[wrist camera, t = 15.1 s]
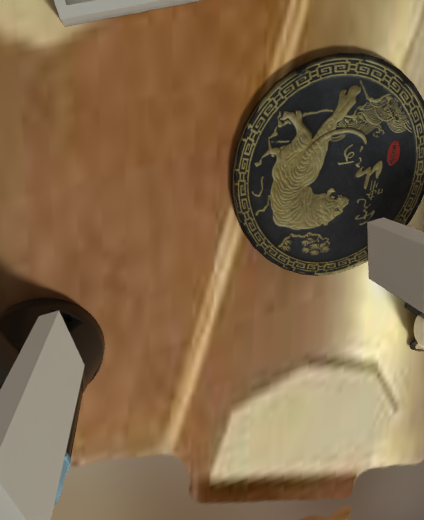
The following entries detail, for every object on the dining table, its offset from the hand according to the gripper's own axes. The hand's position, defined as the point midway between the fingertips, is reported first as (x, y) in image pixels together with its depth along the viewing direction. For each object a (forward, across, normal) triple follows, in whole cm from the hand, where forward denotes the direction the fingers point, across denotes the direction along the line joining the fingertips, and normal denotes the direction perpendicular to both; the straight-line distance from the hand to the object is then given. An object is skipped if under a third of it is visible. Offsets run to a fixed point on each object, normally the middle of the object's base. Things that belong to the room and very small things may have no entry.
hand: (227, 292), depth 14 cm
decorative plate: (+32, +23, -5) cm, 40 cm away
